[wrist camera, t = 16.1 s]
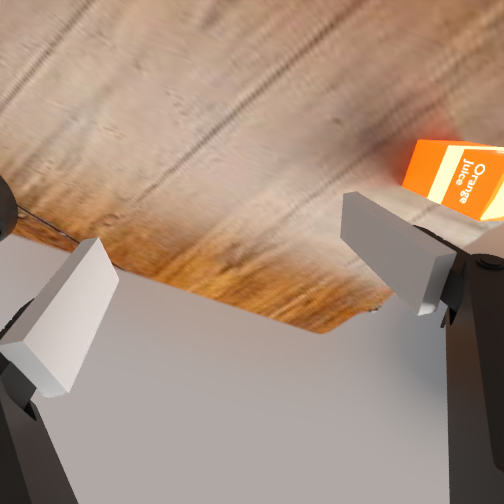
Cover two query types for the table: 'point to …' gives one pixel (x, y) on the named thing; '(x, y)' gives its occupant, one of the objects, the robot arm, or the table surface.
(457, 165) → the orange juice
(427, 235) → the robot arm
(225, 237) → the table surface
